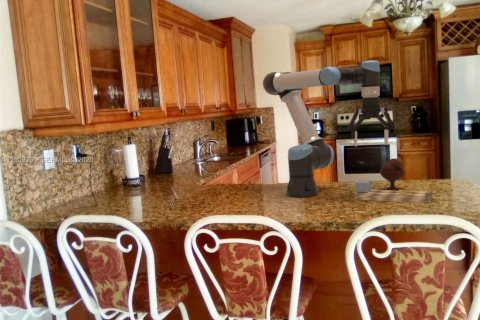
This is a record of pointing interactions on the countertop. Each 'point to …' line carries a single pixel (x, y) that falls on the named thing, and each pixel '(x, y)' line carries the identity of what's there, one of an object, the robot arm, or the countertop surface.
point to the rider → (363, 186)
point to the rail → (396, 196)
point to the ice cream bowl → (392, 172)
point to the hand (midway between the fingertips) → (370, 145)
